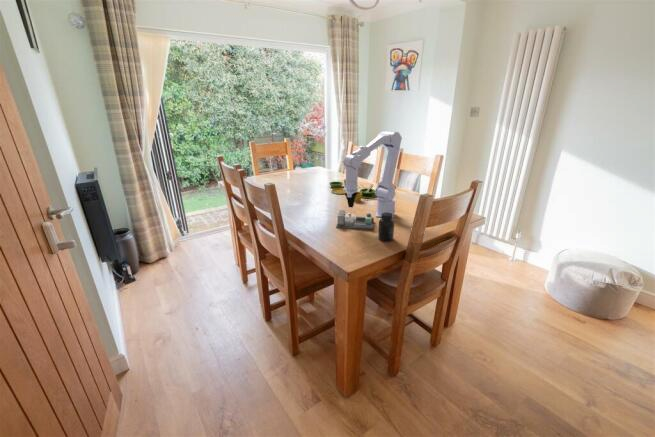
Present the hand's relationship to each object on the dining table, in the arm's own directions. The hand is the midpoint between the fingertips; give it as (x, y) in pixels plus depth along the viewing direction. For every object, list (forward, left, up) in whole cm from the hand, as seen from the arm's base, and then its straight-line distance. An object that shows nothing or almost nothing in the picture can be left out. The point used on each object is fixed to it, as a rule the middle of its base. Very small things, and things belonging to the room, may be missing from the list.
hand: (350, 206), depth 146 cm
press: (-2, 0, -9) cm, 10 cm away
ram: (-9, 0, -8) cm, 12 cm away
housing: (+1, 0, -9) cm, 9 cm away
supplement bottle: (-17, +14, -10) cm, 24 cm away
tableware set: (+5, -55, -10) cm, 56 cm away
